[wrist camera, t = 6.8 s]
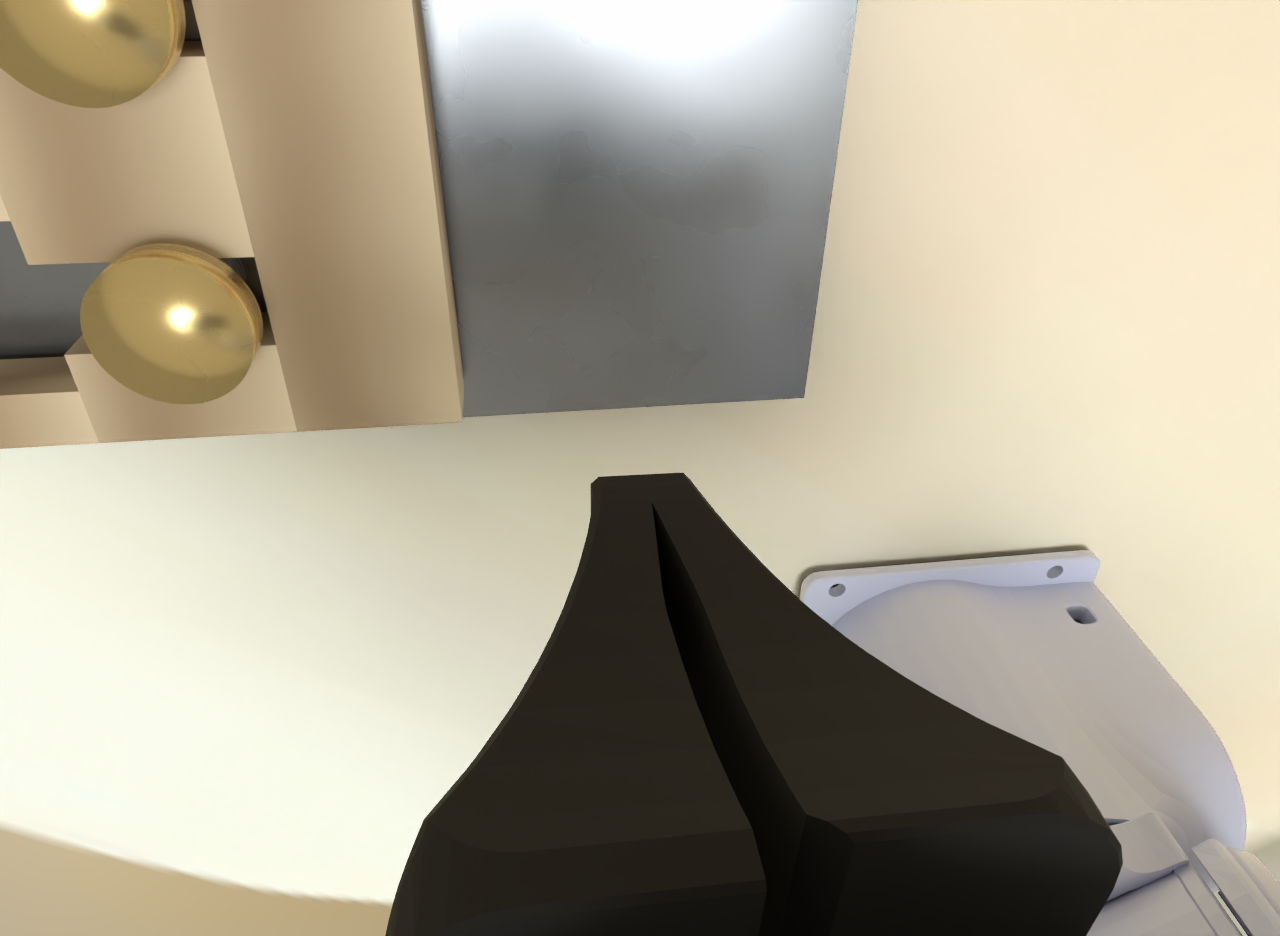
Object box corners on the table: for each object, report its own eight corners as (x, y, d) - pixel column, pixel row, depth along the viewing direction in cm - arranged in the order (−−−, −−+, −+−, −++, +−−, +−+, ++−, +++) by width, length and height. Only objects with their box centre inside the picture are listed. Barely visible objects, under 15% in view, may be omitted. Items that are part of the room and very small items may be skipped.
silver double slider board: (876, -280, 15) (984, -322, 12) (792, 378, 23) (845, 469, 19) (-422, -327, 13) (-754, -397, 10) (-46, 423, 20) (-156, 537, 17)
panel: (394, -227, 14) (383, -236, 13) (464, 385, 20) (461, 422, 19) (-472, -251, 12) (-585, -265, 11) (-108, 416, 19) (-154, 457, 17)
